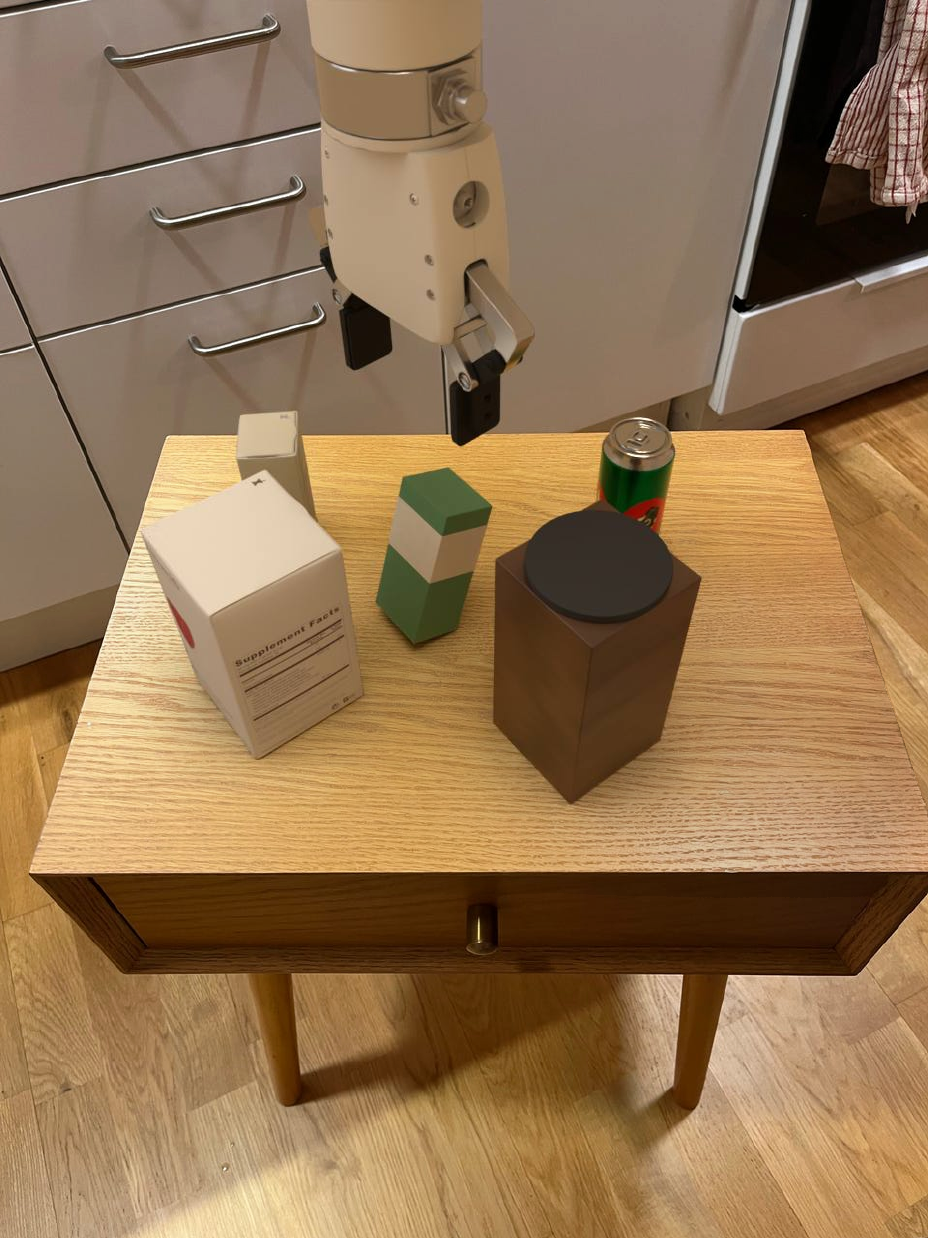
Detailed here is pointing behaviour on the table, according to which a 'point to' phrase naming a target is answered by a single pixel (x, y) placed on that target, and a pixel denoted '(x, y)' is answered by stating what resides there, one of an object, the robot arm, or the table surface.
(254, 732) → the rectangular carton
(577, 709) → the pedestal
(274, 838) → the table surface
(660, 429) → the soda can
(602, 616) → the coaster
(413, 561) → the block
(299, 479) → the box
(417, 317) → the robot arm
